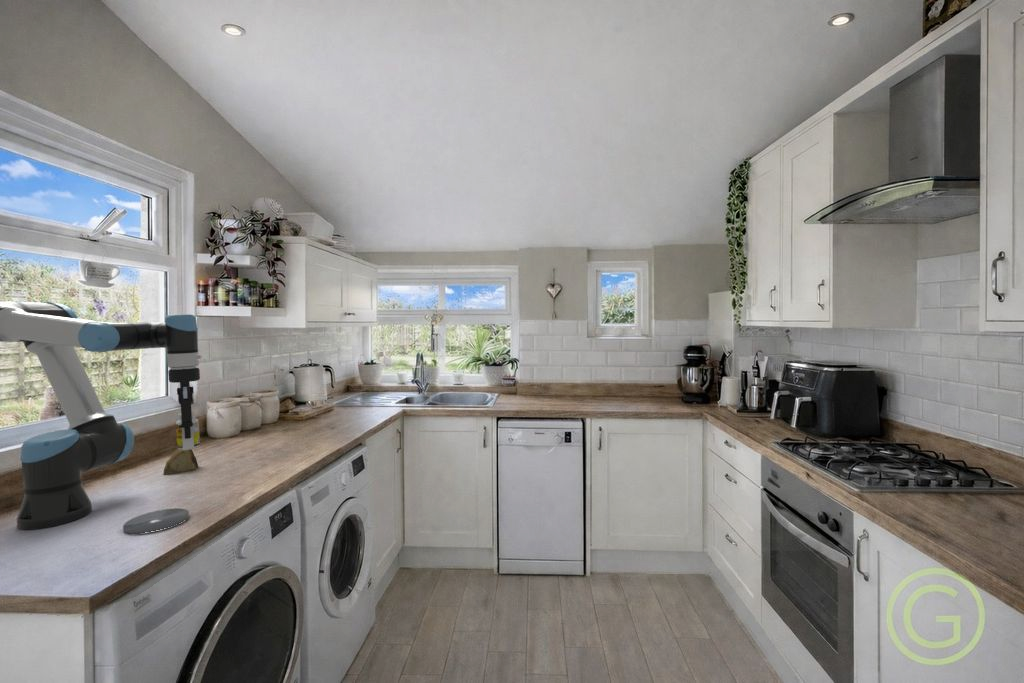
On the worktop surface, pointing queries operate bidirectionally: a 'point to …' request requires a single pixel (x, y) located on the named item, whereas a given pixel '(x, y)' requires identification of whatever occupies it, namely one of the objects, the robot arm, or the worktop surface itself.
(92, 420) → the robot arm
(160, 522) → the plate
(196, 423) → the supplement bottle
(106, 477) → the worktop surface
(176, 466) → the rock
